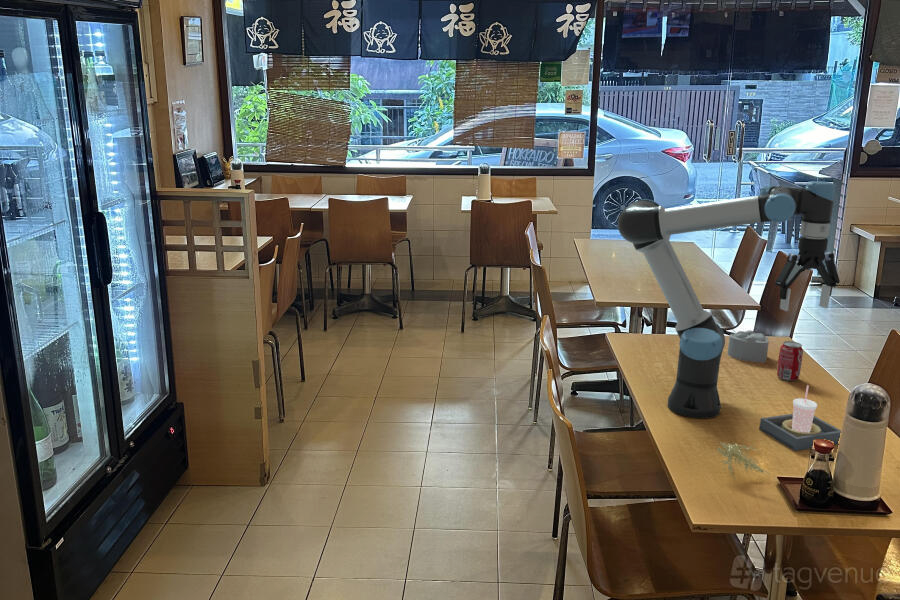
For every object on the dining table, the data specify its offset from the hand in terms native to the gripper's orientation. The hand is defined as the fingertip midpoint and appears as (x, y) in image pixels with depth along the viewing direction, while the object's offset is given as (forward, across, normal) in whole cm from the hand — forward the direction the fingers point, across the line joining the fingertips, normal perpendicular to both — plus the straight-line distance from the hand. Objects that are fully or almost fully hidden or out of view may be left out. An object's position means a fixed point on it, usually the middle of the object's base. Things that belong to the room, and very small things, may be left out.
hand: (803, 308), depth 236 cm
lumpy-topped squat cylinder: (+31, +16, +44) cm, 56 cm away
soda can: (+31, +16, +22) cm, 41 cm away
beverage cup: (+30, -11, -18) cm, 37 cm away
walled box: (+31, -11, -18) cm, 38 cm away
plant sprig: (+31, -40, -34) cm, 61 cm away
